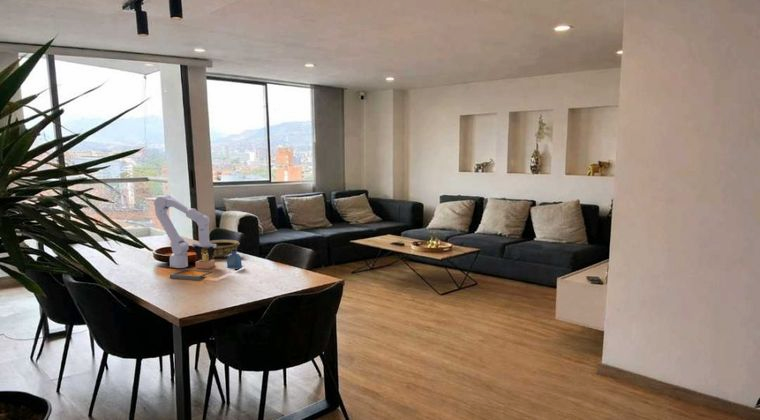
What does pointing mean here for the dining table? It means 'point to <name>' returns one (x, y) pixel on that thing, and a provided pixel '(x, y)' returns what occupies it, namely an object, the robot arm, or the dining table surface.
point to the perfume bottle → (234, 260)
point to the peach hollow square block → (205, 264)
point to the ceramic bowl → (222, 248)
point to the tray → (189, 275)
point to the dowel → (204, 257)
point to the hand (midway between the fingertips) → (205, 259)
